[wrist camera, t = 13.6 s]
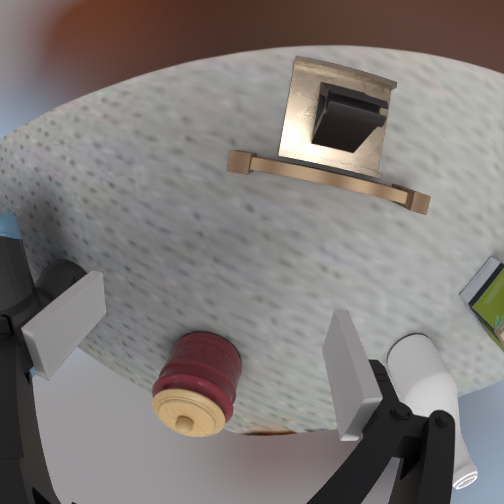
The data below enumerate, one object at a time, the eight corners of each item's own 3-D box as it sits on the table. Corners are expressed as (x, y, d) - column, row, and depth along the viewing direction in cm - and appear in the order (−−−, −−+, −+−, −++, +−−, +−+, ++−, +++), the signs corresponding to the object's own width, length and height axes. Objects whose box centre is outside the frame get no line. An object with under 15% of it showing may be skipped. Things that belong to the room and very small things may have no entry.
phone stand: (321, 82, 35) (336, 56, 23) (363, 93, 34) (393, 73, 23) (310, 143, 38) (322, 140, 26) (352, 153, 37) (380, 155, 26)
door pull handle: (236, 167, 40) (226, 171, 33) (239, 150, 40) (229, 150, 32) (402, 203, 40) (426, 215, 32) (406, 187, 39) (430, 196, 31)
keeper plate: (278, 155, 39) (278, 155, 36) (294, 61, 35) (295, 55, 32) (374, 176, 39) (381, 178, 36) (389, 86, 34) (397, 82, 31)
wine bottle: (376, 365, 49) (418, 504, 21) (404, 326, 46) (475, 464, 18) (411, 375, 50) (460, 497, 21) (439, 338, 46) (509, 458, 18)
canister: (163, 333, 51) (124, 400, 34) (232, 325, 49) (210, 402, 32) (187, 384, 55) (161, 452, 38) (249, 381, 53) (237, 456, 36)
